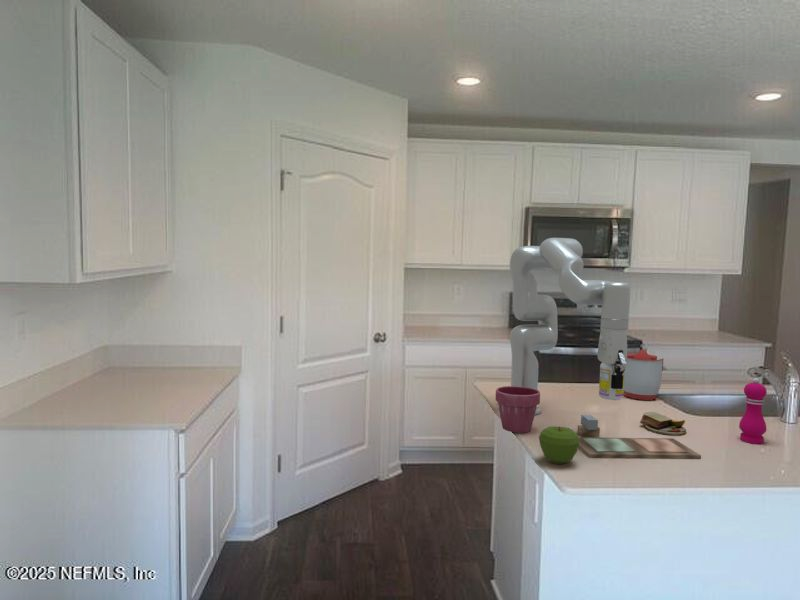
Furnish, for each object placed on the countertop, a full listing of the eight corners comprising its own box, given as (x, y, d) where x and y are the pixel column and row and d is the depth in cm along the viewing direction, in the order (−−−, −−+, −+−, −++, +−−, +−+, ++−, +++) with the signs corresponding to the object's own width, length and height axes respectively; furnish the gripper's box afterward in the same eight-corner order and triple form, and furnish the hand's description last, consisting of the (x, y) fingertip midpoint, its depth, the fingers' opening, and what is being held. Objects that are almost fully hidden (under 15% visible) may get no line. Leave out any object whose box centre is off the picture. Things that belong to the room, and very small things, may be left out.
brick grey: (597, 429, 175) (597, 420, 175) (588, 429, 175) (588, 420, 175) (590, 424, 181) (590, 414, 181) (580, 424, 181) (581, 414, 180)
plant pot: (501, 420, 193) (502, 383, 192) (542, 426, 187) (544, 388, 186) (489, 431, 180) (490, 391, 179) (533, 438, 174) (534, 397, 173)
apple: (554, 471, 147) (556, 433, 146) (529, 458, 156) (531, 422, 155) (587, 466, 151) (588, 429, 150) (561, 453, 160) (562, 419, 160)
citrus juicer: (672, 402, 223) (675, 352, 222) (628, 401, 223) (631, 351, 222) (655, 393, 239) (657, 346, 237) (614, 392, 239) (616, 345, 238)
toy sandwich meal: (667, 438, 178) (668, 423, 177) (633, 426, 190) (634, 412, 189) (694, 434, 183) (695, 419, 183) (659, 422, 195) (660, 409, 195)
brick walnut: (580, 437, 177) (581, 428, 176) (577, 434, 180) (577, 425, 179) (599, 437, 177) (599, 428, 177) (595, 434, 180) (596, 425, 180)
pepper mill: (756, 445, 171) (761, 381, 170) (733, 439, 178) (737, 376, 176) (770, 442, 175) (775, 379, 173) (747, 436, 181) (751, 374, 180)
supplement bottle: (622, 396, 166) (624, 353, 165) (623, 401, 160) (626, 356, 159) (598, 394, 168) (600, 351, 168) (598, 399, 162) (600, 355, 161)
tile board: (589, 457, 157) (589, 453, 157) (570, 440, 172) (571, 436, 172) (700, 458, 159) (701, 454, 159) (673, 441, 174) (673, 437, 174)
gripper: (590, 321, 171) (587, 379, 172) (614, 328, 154) (610, 392, 155) (614, 321, 171) (611, 379, 173) (641, 328, 154) (637, 393, 155)
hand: (611, 385), depth 164 cm, fingers closed on supplement bottle, 6 cm apart
